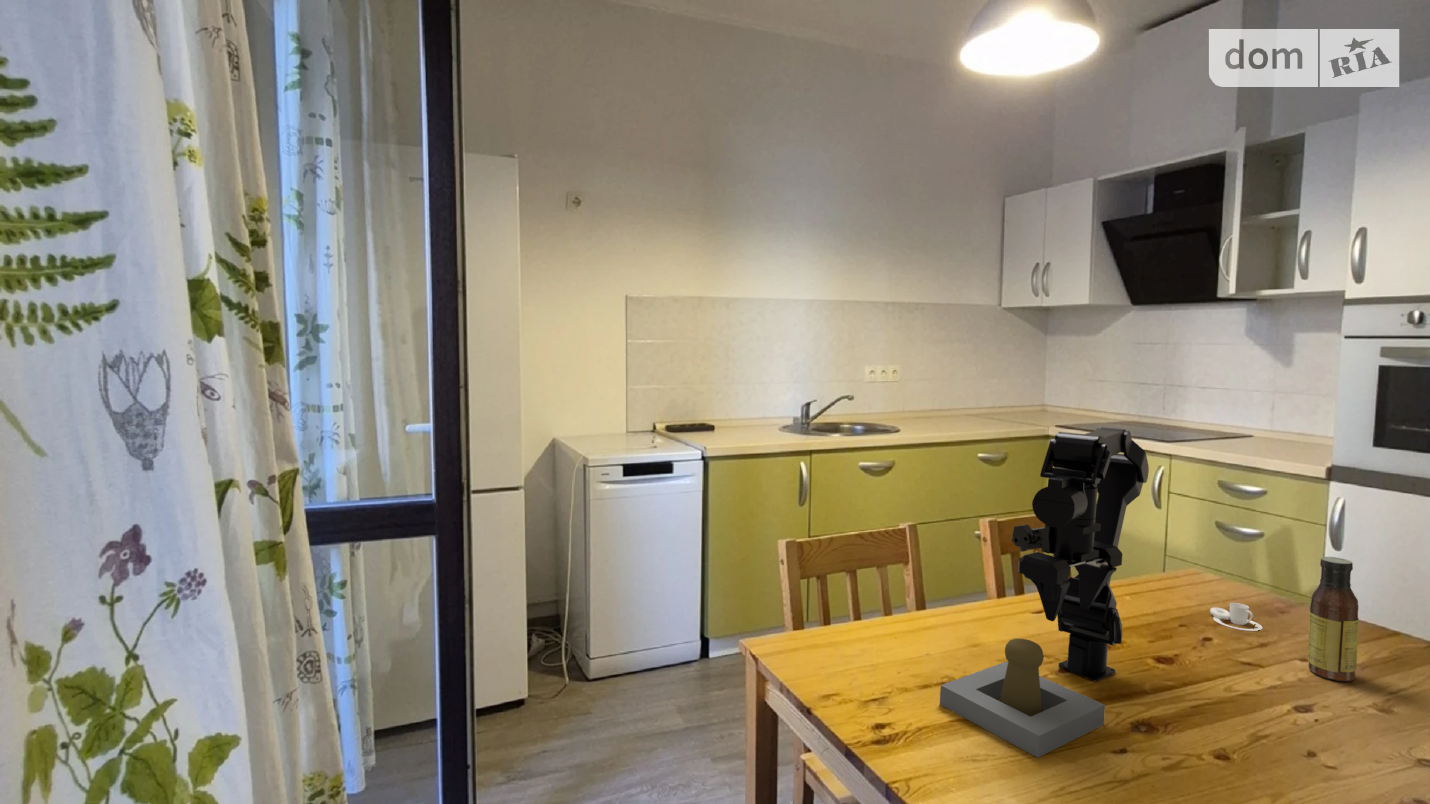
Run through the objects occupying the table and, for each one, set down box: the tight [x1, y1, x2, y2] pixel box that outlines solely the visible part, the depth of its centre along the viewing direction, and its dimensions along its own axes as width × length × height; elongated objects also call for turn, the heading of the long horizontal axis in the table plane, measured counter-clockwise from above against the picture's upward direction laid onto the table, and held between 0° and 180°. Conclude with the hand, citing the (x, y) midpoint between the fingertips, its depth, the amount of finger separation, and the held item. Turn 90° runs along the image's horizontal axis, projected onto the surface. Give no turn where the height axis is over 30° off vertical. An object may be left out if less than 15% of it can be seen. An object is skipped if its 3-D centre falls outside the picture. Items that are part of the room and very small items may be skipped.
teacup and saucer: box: [1209, 602, 1263, 632], centre depth 142 cm, size 9×8×4 cm
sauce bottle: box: [1307, 556, 1360, 683], centre depth 118 cm, size 7×6×20 cm
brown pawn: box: [999, 638, 1045, 717], centre depth 103 cm, size 6×6×11 cm
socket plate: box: [939, 660, 1106, 759], centre depth 104 cm, size 16×16×3 cm
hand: (1067, 614), depth 109 cm, fingers open, 9 cm apart
